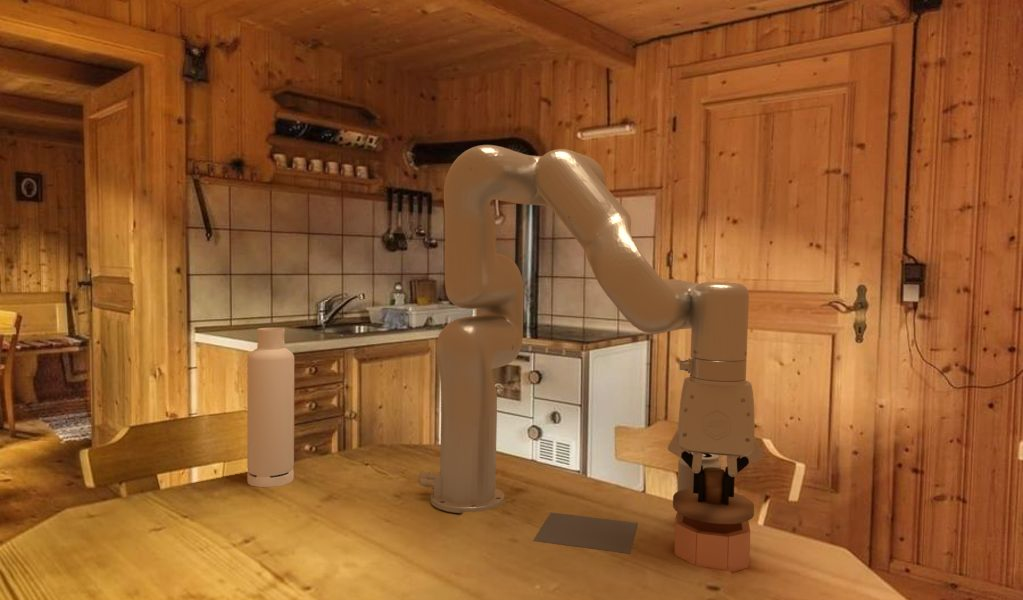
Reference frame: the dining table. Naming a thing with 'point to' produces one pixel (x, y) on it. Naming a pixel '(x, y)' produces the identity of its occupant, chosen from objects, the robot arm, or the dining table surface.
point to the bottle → (270, 410)
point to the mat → (587, 532)
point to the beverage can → (688, 475)
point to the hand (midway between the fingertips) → (713, 498)
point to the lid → (713, 502)
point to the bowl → (712, 543)
